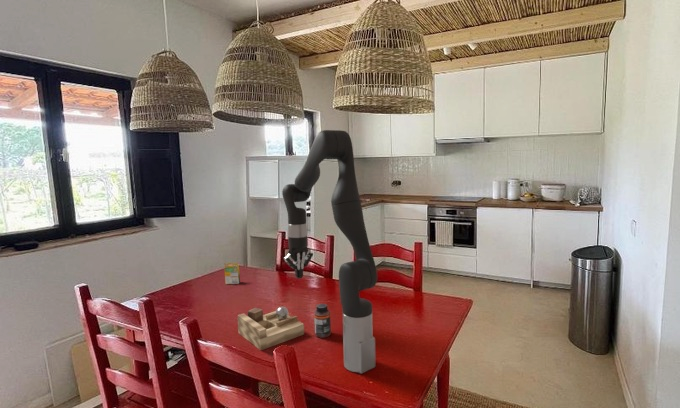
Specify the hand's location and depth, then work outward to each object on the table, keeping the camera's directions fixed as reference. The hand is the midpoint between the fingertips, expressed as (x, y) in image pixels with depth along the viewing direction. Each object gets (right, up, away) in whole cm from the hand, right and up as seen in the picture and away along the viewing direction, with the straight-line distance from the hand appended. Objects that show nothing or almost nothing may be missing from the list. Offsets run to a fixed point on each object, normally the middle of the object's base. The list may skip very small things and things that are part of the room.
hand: (299, 278), depth 144 cm
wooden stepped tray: (-10, -20, -7) cm, 23 cm away
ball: (-6, -13, -4) cm, 15 cm away
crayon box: (-42, -14, +55) cm, 71 cm away
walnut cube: (-16, -16, -4) cm, 23 cm away
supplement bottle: (+10, -20, -8) cm, 23 cm away
